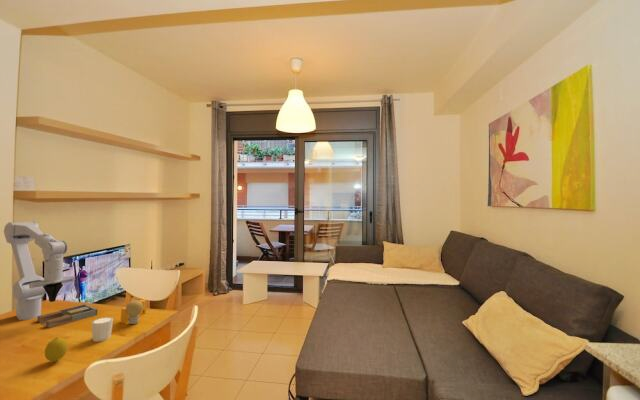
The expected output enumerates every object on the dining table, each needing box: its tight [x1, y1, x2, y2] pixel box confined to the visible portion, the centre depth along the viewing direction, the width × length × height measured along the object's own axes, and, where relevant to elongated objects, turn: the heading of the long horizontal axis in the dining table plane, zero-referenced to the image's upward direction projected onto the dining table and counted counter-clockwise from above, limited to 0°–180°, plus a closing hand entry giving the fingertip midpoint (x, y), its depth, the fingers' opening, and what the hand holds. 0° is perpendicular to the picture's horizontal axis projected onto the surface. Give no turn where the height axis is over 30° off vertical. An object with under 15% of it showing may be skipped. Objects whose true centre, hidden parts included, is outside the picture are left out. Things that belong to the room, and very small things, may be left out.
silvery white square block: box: [78, 307, 90, 313], centre depth 132 cm, size 4×4×2 cm
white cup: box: [91, 316, 114, 343], centre depth 112 cm, size 7×7×7 cm
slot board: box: [36, 310, 96, 329], centre depth 127 cm, size 12×17×3 cm
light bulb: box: [125, 299, 143, 325], centre depth 126 cm, size 6×6×10 cm
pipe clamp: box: [120, 299, 147, 324], centre depth 132 cm, size 12×4×6 cm, turn 173°
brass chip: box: [67, 309, 80, 316], centre depth 129 cm, size 4×4×2 cm
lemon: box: [44, 337, 68, 363], centre depth 95 cm, size 6×6×8 cm
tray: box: [59, 303, 98, 322], centre depth 131 cm, size 12×10×2 cm
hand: (52, 301), depth 122 cm, fingers closed
